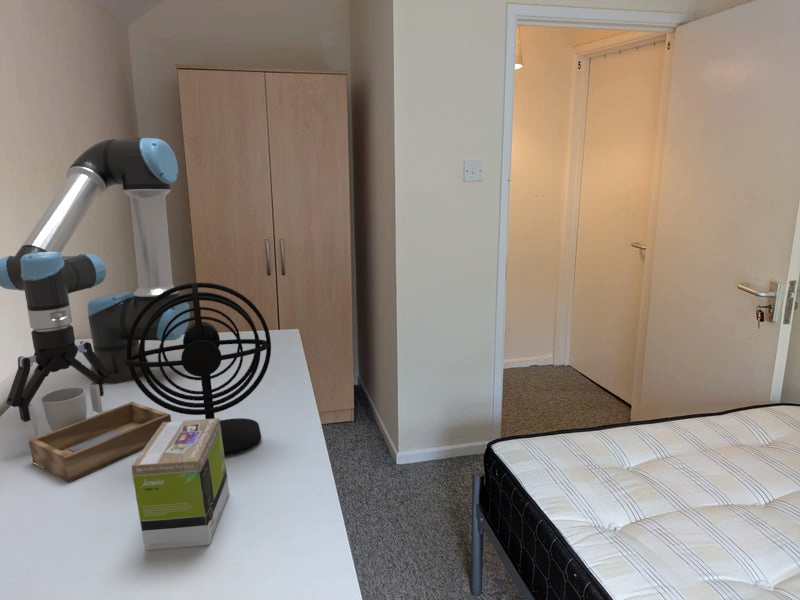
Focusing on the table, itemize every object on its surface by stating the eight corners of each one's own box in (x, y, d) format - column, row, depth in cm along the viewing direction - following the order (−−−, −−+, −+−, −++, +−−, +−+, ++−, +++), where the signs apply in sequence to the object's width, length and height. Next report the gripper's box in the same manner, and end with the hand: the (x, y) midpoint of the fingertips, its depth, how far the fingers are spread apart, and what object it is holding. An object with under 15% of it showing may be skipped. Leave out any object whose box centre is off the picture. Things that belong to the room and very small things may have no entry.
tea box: (172, 497, 101) (162, 419, 98) (230, 493, 102) (222, 415, 98) (142, 552, 86) (129, 463, 83) (210, 547, 87) (200, 458, 84)
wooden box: (33, 463, 114) (28, 440, 113) (135, 422, 132) (132, 401, 131) (70, 482, 107) (66, 458, 106) (173, 435, 125) (170, 414, 123)
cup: (99, 429, 129) (93, 387, 126) (76, 447, 121) (68, 402, 118) (65, 429, 129) (58, 387, 127) (40, 446, 122) (32, 402, 119)
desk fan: (136, 478, 108) (110, 296, 100) (144, 438, 124) (123, 278, 116) (282, 452, 116) (268, 282, 108) (272, 418, 132) (259, 268, 124)
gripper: (-8, 344, 107) (11, 449, 112) (119, 316, 128) (130, 406, 132) (-25, 339, 111) (-6, 440, 116) (100, 312, 132) (112, 399, 136)
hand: (66, 422), depth 124 cm, fingers open, 13 cm apart
